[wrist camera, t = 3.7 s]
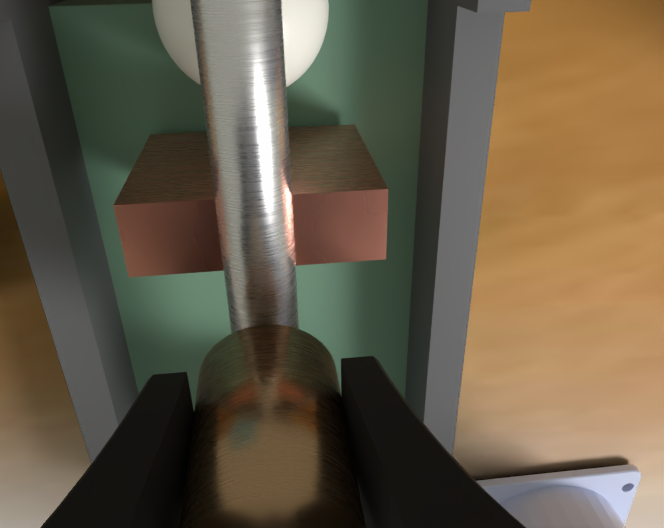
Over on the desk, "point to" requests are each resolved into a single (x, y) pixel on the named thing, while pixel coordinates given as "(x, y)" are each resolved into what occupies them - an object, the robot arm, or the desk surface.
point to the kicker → (257, 275)
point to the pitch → (188, 116)
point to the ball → (298, 31)
